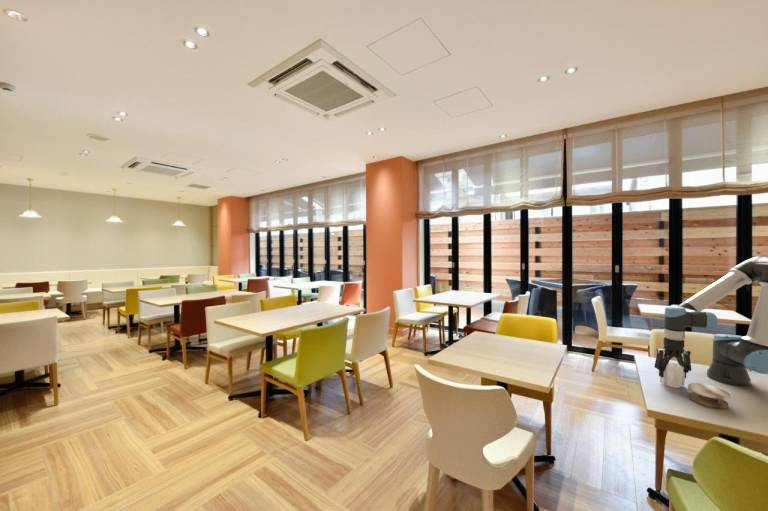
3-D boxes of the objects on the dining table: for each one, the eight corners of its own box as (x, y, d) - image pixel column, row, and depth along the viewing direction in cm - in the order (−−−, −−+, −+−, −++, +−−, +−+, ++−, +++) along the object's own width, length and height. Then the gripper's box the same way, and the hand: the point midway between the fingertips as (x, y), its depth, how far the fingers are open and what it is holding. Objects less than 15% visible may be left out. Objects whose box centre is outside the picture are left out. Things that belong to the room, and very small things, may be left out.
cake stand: (711, 395, 145) (711, 383, 144) (739, 410, 132) (739, 398, 131) (679, 394, 146) (680, 382, 146) (704, 408, 133) (705, 396, 133)
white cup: (687, 389, 151) (688, 369, 150) (668, 388, 152) (669, 367, 152) (675, 382, 158) (676, 362, 158) (657, 380, 160) (658, 361, 159)
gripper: (690, 336, 156) (688, 381, 158) (645, 335, 159) (644, 379, 160) (704, 341, 149) (701, 388, 150) (656, 339, 151) (654, 386, 153)
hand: (672, 383), depth 155 cm, fingers closed on white cup, 7 cm apart
